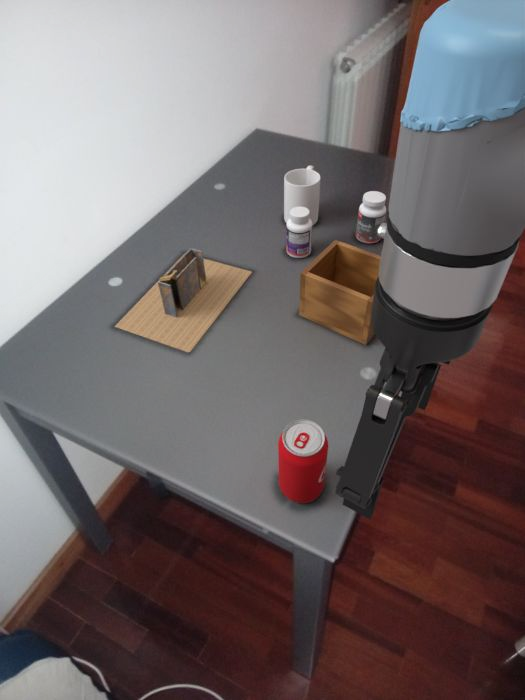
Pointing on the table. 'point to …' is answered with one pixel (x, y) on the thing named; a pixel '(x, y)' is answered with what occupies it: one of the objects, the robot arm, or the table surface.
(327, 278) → the crate
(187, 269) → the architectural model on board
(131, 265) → the table surface
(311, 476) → the beverage can
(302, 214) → the pill bottle
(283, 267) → the table surface
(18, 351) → the table surface
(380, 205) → the pill bottle
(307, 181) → the mug
